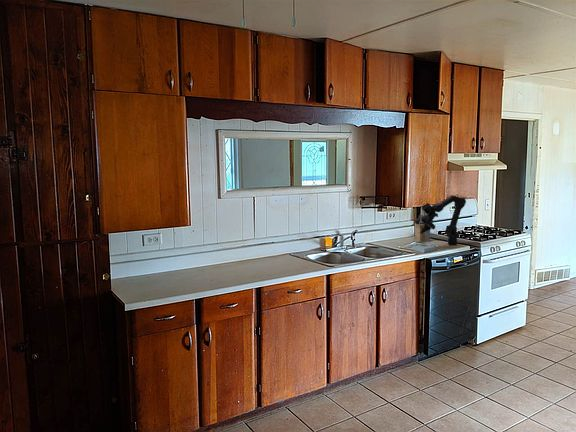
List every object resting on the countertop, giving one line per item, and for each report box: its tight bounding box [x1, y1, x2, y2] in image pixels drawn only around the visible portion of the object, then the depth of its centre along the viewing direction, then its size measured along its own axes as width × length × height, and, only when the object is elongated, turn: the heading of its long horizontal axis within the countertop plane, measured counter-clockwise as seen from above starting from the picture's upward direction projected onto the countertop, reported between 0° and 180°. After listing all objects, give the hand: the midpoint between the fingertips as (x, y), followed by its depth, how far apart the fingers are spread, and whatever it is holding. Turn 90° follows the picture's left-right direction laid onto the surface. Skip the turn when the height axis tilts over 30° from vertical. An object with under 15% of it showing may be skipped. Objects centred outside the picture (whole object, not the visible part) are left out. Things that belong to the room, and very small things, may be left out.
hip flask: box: [414, 219, 431, 244], centre depth 399 cm, size 16×4×20 cm, turn 116°
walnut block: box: [414, 224, 426, 243], centre depth 369 cm, size 5×5×13 cm
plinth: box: [412, 244, 436, 253], centre depth 367 cm, size 12×12×3 cm
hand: (418, 232), depth 368 cm, fingers closed on walnut block, 5 cm apart
